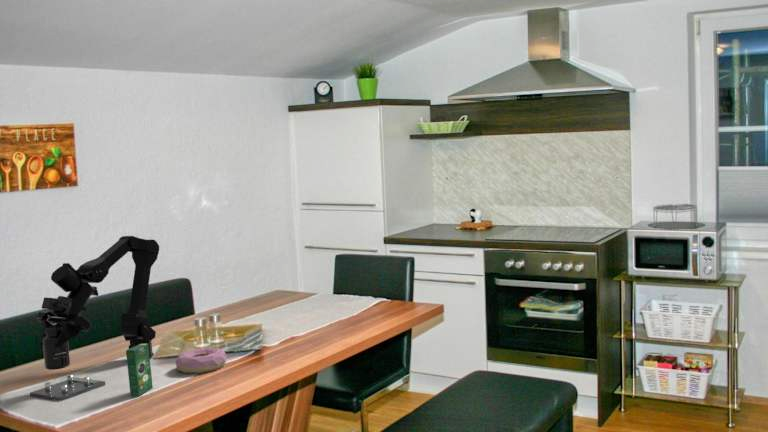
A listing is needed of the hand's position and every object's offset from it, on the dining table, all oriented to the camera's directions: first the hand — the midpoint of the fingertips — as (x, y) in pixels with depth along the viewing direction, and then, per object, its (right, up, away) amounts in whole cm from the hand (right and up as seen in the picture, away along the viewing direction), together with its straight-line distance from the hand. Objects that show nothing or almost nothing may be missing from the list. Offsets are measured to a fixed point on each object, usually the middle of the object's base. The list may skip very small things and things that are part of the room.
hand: (48, 346), depth 229 cm
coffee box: (+29, -12, -7) cm, 32 cm away
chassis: (+5, -13, +1) cm, 14 cm away
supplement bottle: (+2, -7, +3) cm, 7 cm away
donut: (+41, -9, +14) cm, 44 cm away
